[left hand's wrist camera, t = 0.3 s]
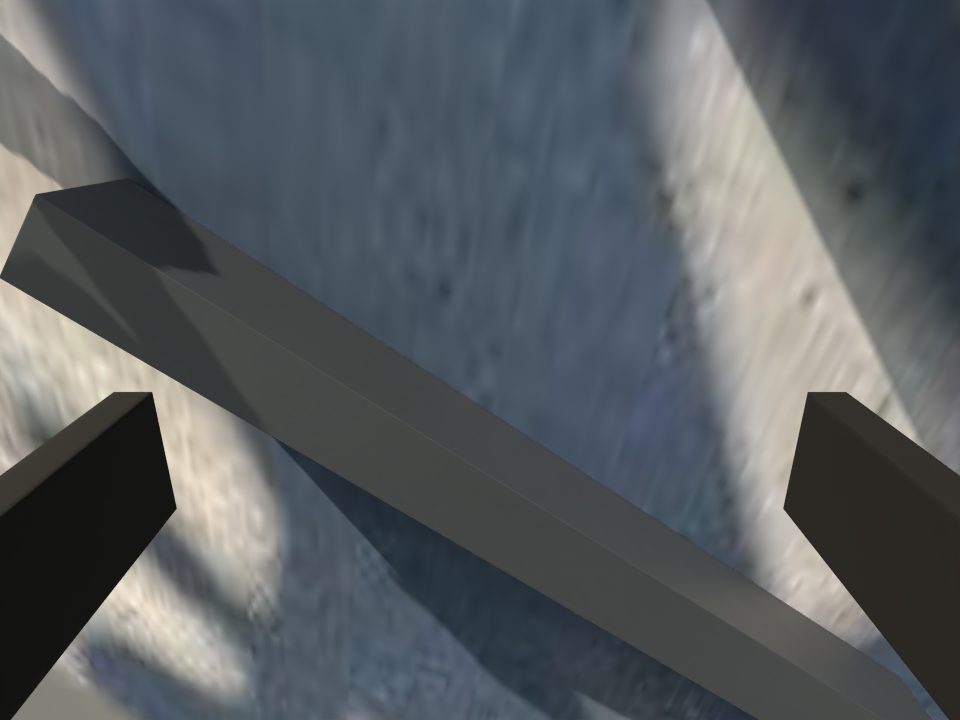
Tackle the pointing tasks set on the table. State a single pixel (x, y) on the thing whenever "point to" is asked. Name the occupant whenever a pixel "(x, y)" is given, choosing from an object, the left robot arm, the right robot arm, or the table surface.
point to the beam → (429, 451)
